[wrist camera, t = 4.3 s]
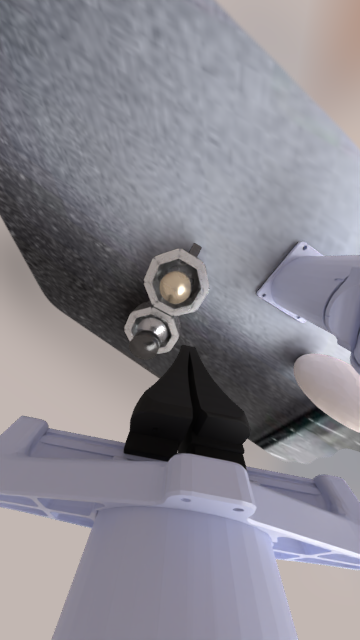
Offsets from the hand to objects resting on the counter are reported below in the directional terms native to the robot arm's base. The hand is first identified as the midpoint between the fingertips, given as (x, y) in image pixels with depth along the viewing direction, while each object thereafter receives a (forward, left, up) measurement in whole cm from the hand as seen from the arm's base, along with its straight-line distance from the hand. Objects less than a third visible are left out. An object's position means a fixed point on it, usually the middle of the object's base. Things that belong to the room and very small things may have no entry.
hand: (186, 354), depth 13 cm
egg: (-23, -3, -11) cm, 26 cm away
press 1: (+4, -4, -10) cm, 12 cm away
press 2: (+4, +4, -10) cm, 12 cm away
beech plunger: (+4, -4, -9) cm, 11 cm away
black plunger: (+4, +4, -7) cm, 9 cm away
